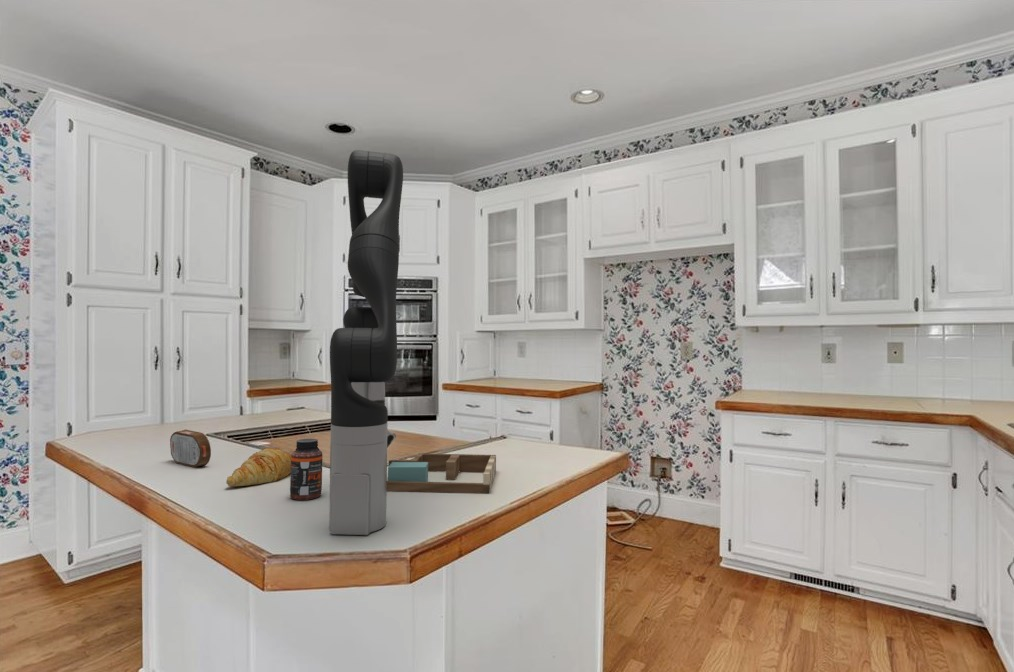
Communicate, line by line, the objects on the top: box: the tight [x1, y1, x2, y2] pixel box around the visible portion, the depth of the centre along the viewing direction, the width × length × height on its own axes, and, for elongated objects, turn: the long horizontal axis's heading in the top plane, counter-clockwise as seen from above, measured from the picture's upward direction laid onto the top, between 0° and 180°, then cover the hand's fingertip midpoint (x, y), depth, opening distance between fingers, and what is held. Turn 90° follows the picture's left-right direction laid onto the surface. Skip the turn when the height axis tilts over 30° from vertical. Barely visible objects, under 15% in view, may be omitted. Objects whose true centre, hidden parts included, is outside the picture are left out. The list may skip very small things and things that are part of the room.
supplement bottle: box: [289, 438, 323, 501], centre depth 106 cm, size 6×6×11 cm
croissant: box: [225, 447, 291, 487], centre depth 120 cm, size 21×10×8 cm, turn 163°
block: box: [387, 462, 429, 482], centre depth 116 cm, size 5×8×4 cm, turn 92°
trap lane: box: [387, 453, 497, 494], centre depth 119 cm, size 19×24×4 cm
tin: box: [169, 429, 212, 468], centre depth 133 cm, size 15×3×8 cm, turn 58°
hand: (366, 476), depth 116 cm, fingers closed
